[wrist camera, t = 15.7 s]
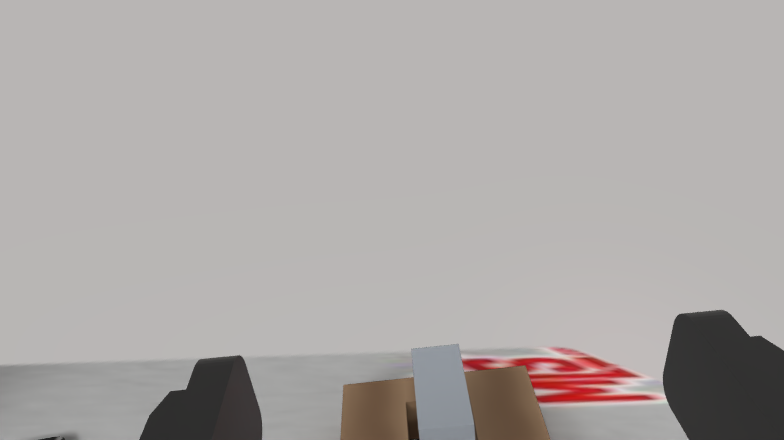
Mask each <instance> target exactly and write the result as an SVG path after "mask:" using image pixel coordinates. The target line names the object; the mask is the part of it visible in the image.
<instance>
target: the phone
mask: <svg viewBox="0 0 784 440" xmlns="http://www.w3.org/2000/svg"><path fill="white" fill-rule="evenodd" d="M40 440H65V439H64V438H63V437H51V438H45V439H40Z"/></svg>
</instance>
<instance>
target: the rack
mask: <svg viewBox="0 0 784 440" xmlns="http://www.w3.org/2000/svg"><path fill="white" fill-rule="evenodd" d="M464 374H465V379H466V385H467V390H468V395H469V400H470V405H471V410H472V415H473V420H474V428H475V440H550V437H549V434H548V431H547V428H546V425H545V422H544V419H543V416H542V413H541V410H540V407H539V404H538V401H537V399H536V396H535V393H534V390H533V387H532V384H531V381H530V378H529V375H528V372H527V369H526V366H517V367H507V368H498V369H489V370H479V371H470V372H464ZM411 439H420V438H419V430H418V419H417V407H416V396H415V385H414V377H413V378H404V379H395V380H385V381H376V382H366V383H357V384H348V385H344V386H343V405H342V423H341V440H411Z"/></svg>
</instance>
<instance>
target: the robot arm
mask: <svg viewBox="0 0 784 440" xmlns="http://www.w3.org/2000/svg"><path fill="white" fill-rule="evenodd" d="M663 385H664V391H665V395H666V398H667V401H668V403H669V406H670V408H671V410H672V411H673V413H674V415H675V416H676V418H677V420H678V421H679V423H680V425H681V427H682V428H683V430H684V432H685V433H686V435H687V437H688V438H689V440H784V351H783V350H782V349H780V348H779V347H777V346H776V345H774V344H773V343H771V342H769V341H768V340H766V339H765V338H763V337H762V336H754V337H750V336H749V335H748V334H747V333H746V332H745V331H744V329H743V328H742V327H741V326H740V325H739V323H738V322H737V321H736V320H735V319H734V318H733V317H732V315H731V314H729V313H728V312H726V311H724V310H716V311H706V312H695V313H685V314H679V315H678V316H677V317H676V319H675V321H674V325H673V330H672V334H671V339H670V344H669V348H668V353H667V358H666V363H665V367H664V372H663ZM139 440H262V419H261V413H260V409H259V406H258V402H257V399H256V396H255V393H254V390H253V386H252V383H251V380H250V377H249V374H248V370H247V367H246V364H245V361H244V359H243V358H242V356H229V357H219V358H208V359H200V360H199V361H198V362H197V363H196V365H195V367H194V370H193V372H192V375H191V378H190V380H189V383H188V386H187V389H186V390H179V391H170V392H169V394H168V395H167V396H166V397H165V398H164V399H163V401H162V402H161V403H160V404H159V405H158V406H157V407H156V409H155V410H154V411H153V412H152V413H151V414H150V416H149V418H148V420H147V423H146V425H145V427H144V430H143V432H142V435H141V437H140V439H139Z"/></svg>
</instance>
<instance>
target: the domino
mask: <svg viewBox="0 0 784 440" xmlns="http://www.w3.org/2000/svg"><path fill="white" fill-rule="evenodd" d="M411 351H412V362H413V373H414V385H415V396H416V407H417V419H418V430H419V438H420V440H475V428H474V420H473V415H472V410H471V405H470V400H469V395H468V390H467V385H466V379H465V374H464V369H463V364H462V359H461V354H460V349H459V344H454V345H444V346H435V347H426V348H415V349H411Z"/></svg>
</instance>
